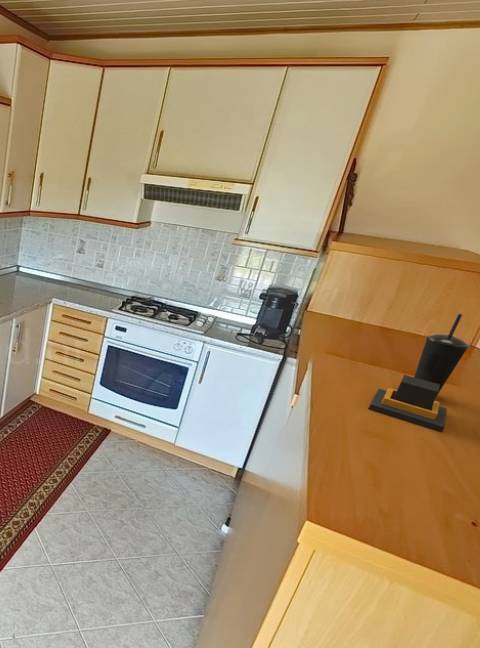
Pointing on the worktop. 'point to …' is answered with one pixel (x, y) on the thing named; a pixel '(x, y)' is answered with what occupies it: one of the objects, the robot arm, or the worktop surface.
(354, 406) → the worktop surface
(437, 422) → the base pad
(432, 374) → the drinking cup
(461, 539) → the worktop surface
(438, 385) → the black pad
